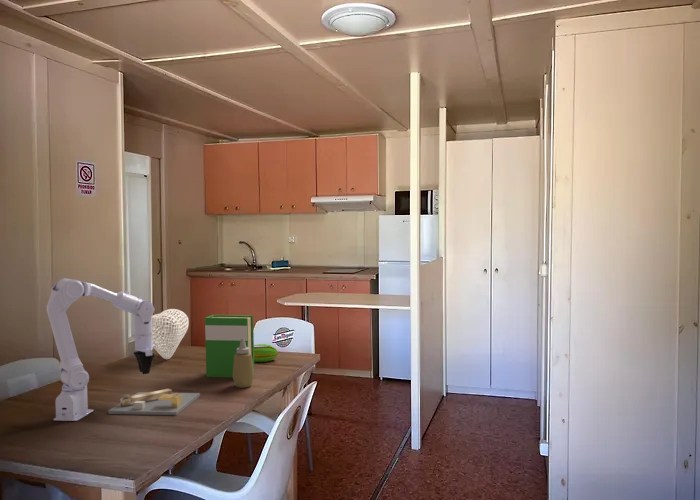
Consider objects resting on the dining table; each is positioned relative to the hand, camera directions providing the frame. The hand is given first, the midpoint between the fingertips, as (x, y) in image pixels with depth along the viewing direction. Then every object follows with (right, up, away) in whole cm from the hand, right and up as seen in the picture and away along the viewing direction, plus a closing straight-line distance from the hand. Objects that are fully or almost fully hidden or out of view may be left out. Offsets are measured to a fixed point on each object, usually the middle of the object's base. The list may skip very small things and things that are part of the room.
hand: (144, 372), depth 188 cm
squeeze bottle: (+32, -9, +15) cm, 36 cm away
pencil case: (+30, -7, +54) cm, 62 cm away
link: (+2, -8, -5) cm, 10 cm away
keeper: (+13, -9, -10) cm, 19 cm away
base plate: (+6, -10, -6) cm, 13 cm away
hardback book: (+23, -8, +31) cm, 39 cm away
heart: (-12, -8, +59) cm, 61 cm away
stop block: (+3, -10, -12) cm, 16 cm away
